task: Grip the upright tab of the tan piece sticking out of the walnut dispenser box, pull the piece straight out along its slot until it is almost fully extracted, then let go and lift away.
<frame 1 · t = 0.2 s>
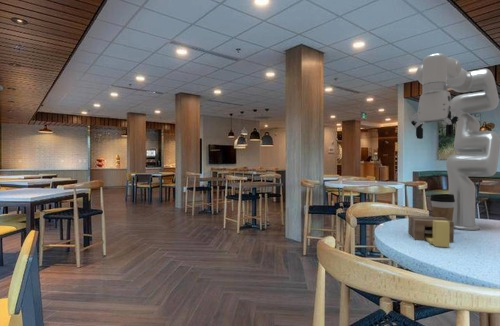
hand: (433, 137, 109), 36 cm above the table, tool pointing down, fingers open, 9 cm apart
coffee cup: (442, 232, 122), on the table
tan piece: (434, 228, 107), point 4 cm above the table, slide at 0.0 cm
dispenser: (429, 237, 112), on the table
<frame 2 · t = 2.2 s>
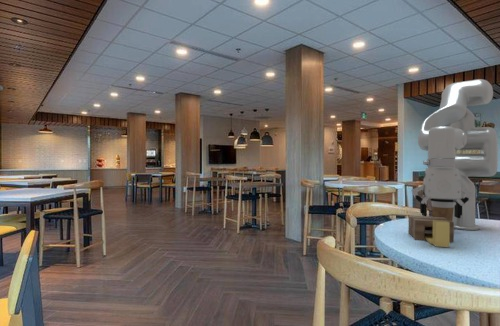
hand: (440, 216, 100), 10 cm above the table, tool pointing down, fingers open, 9 cm apart
nothing on the table moved.
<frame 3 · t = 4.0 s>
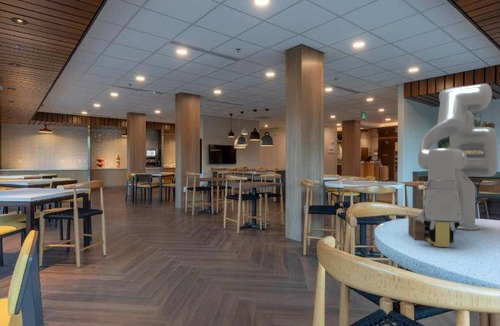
hand: (440, 240, 100), 2 cm above the table, tool pointing down, fingers closed on tan piece, 4 cm apart
tan piece: (434, 228, 107), point 4 cm above the table, slide at 0.0 cm, touching gripper
everything else where it was.
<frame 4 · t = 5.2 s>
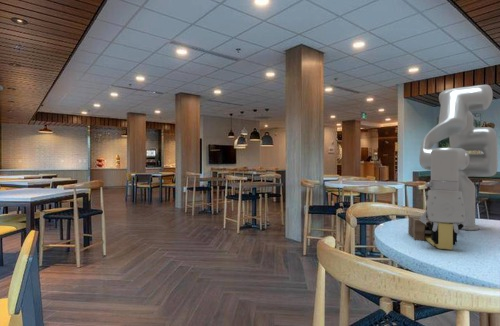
hand: (443, 243, 98), 2 cm above the table, tool pointing down, fingers closed on tan piece, 4 cm apart
tan piece: (436, 230, 104), point 4 cm above the table, slide at 2.9 cm, touching gripper
everything else where it was.
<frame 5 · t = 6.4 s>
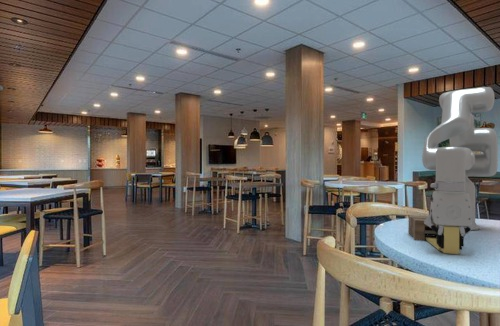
hand: (449, 247, 93), 2 cm above the table, tool pointing down, fingers closed on tan piece, 4 cm apart
tan piece: (441, 233, 99), point 4 cm above the table, slide at 7.9 cm, touching gripper
everything else where it was.
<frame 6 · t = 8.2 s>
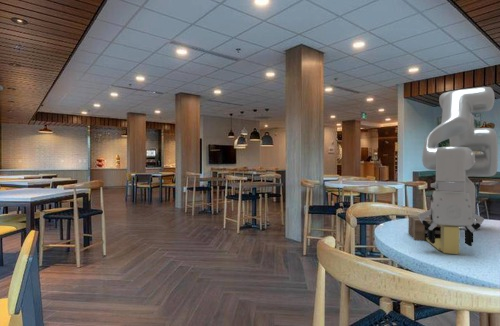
hand: (449, 243, 93), 3 cm above the table, tool pointing down, fingers open, 9 cm apart
tan piece: (441, 233, 99), point 4 cm above the table, slide at 8.0 cm
everything else where it was.
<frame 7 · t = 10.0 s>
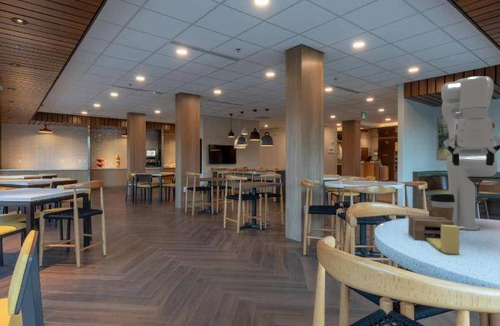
hand: (472, 165, 103), 27 cm above the table, tool pointing down, fingers open, 9 cm apart
nothing on the table moved.
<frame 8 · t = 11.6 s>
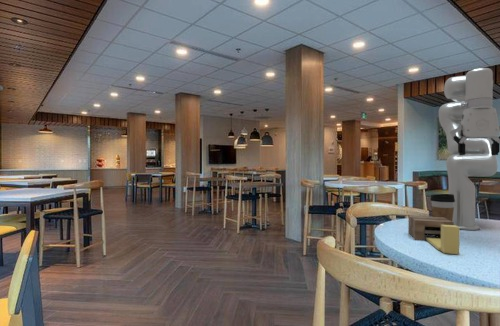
hand: (478, 155, 105), 30 cm above the table, tool pointing down, fingers open, 9 cm apart
nothing on the table moved.
at the end: tan piece slide at 8.0 cm; the gripper is holding nothing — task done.
